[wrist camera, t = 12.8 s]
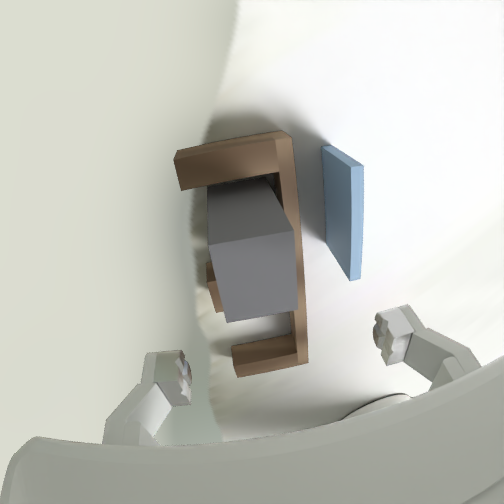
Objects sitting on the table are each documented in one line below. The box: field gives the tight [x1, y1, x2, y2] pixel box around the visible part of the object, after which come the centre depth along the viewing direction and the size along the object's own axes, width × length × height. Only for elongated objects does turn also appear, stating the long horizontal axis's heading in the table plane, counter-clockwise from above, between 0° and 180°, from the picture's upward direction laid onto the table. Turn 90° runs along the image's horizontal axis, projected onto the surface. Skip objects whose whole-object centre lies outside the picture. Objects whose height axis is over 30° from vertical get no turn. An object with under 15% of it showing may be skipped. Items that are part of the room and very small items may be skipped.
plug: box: [207, 177, 298, 323], centre depth 19 cm, size 5×4×8 cm
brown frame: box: [174, 131, 364, 378], centre depth 23 cm, size 21×10×5 cm, turn 9°
